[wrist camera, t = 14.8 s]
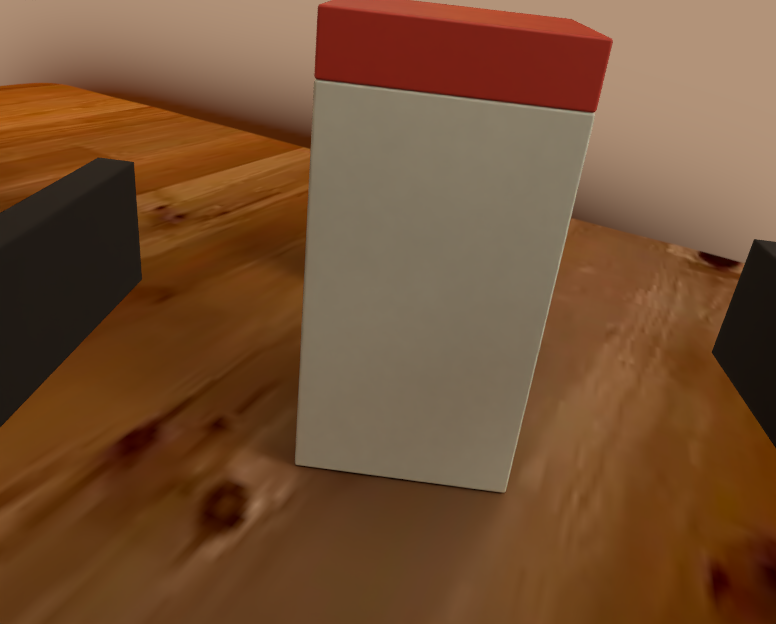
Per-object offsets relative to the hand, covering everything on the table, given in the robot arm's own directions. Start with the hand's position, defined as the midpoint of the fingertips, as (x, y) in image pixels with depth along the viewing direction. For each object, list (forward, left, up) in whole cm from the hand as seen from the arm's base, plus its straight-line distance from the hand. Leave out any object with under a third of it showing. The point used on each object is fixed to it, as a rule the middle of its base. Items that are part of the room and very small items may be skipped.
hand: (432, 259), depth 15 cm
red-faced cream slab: (-7, +7, -7) cm, 12 cm away
